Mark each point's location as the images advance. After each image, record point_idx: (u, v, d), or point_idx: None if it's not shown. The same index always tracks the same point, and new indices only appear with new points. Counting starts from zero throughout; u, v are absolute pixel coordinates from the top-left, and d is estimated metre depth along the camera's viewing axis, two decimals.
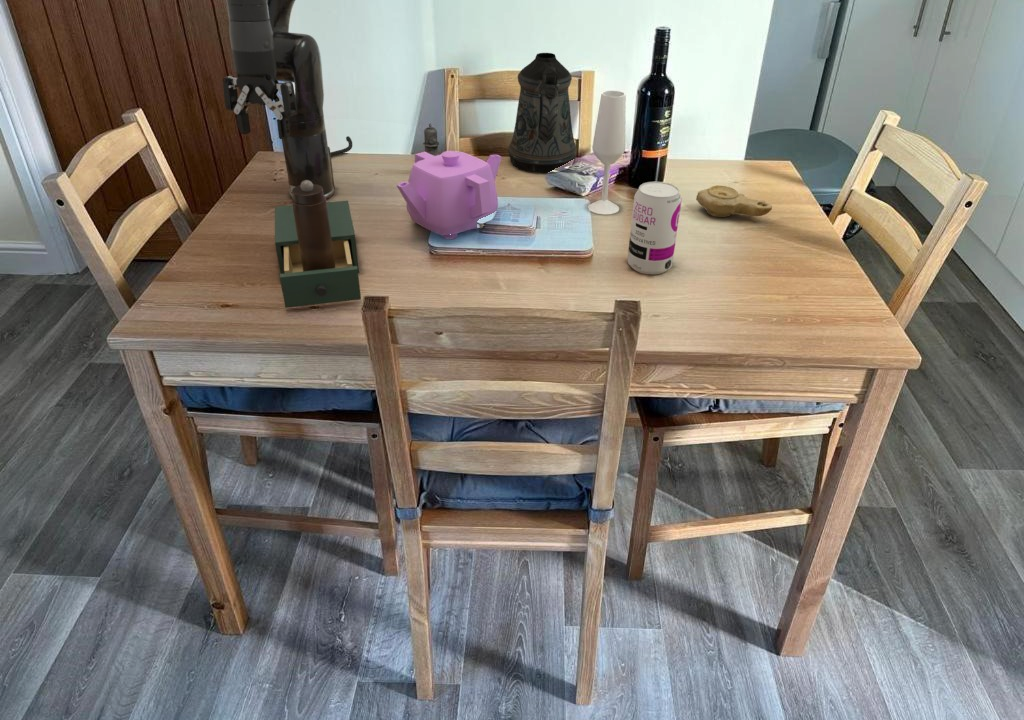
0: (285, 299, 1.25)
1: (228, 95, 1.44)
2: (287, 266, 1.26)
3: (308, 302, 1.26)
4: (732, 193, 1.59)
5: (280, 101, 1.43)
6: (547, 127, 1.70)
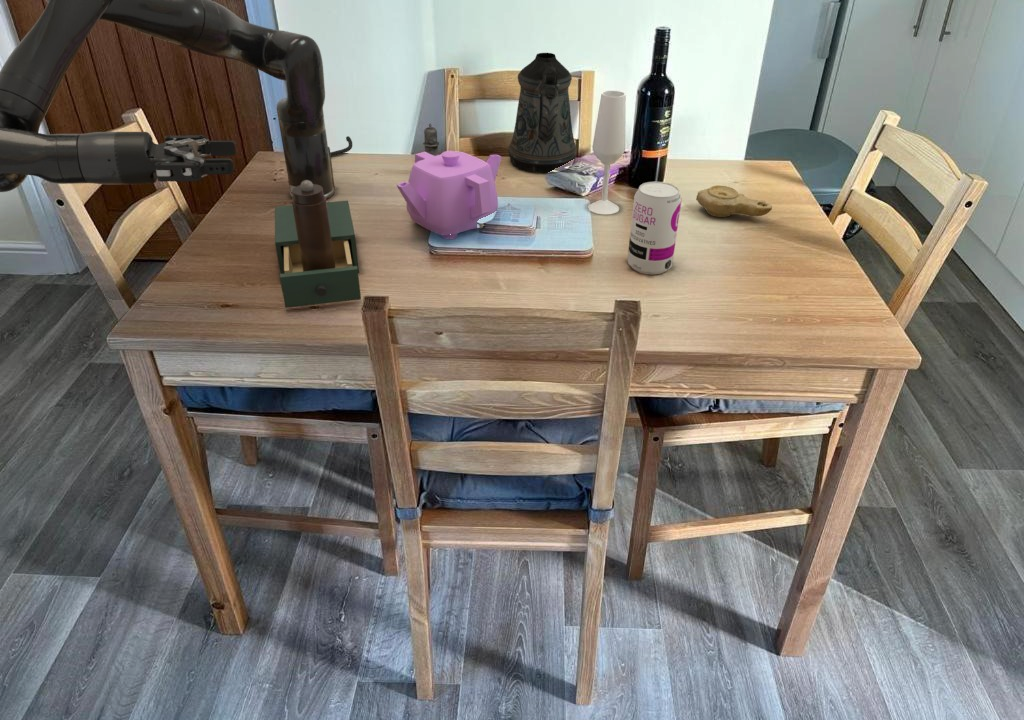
0: (285, 299, 1.25)
1: None
2: (287, 266, 1.26)
3: (308, 302, 1.26)
4: (732, 193, 1.59)
5: (184, 159, 1.11)
6: (547, 128, 1.70)
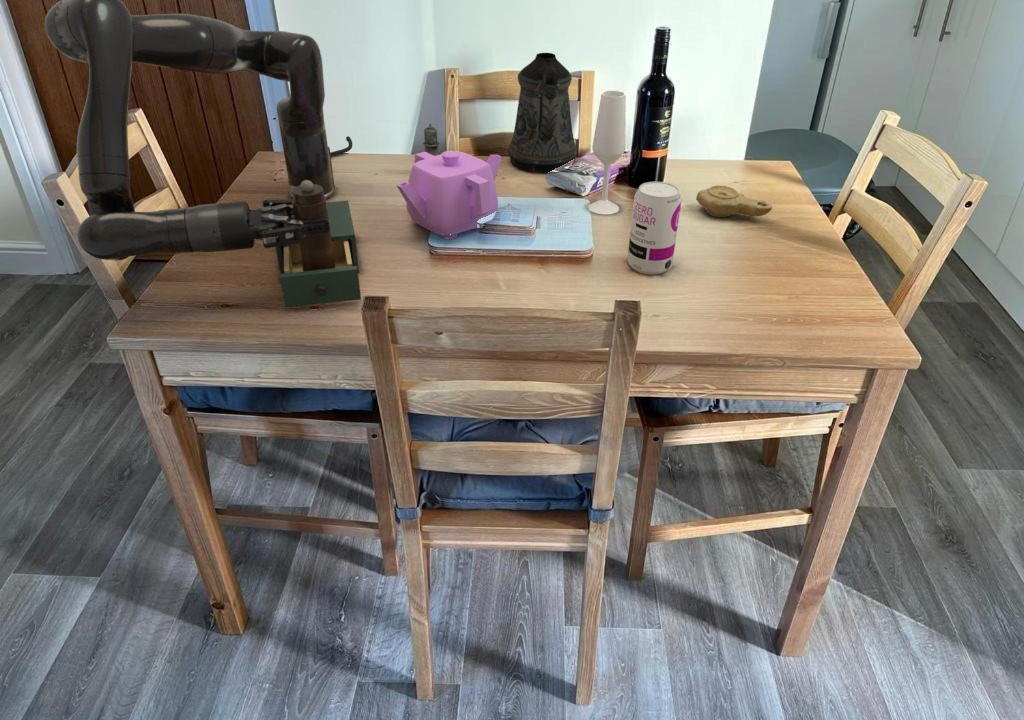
0: (285, 299, 1.25)
1: None
2: (287, 266, 1.26)
3: (308, 302, 1.26)
4: (732, 193, 1.59)
5: (284, 223, 1.21)
6: (547, 128, 1.70)
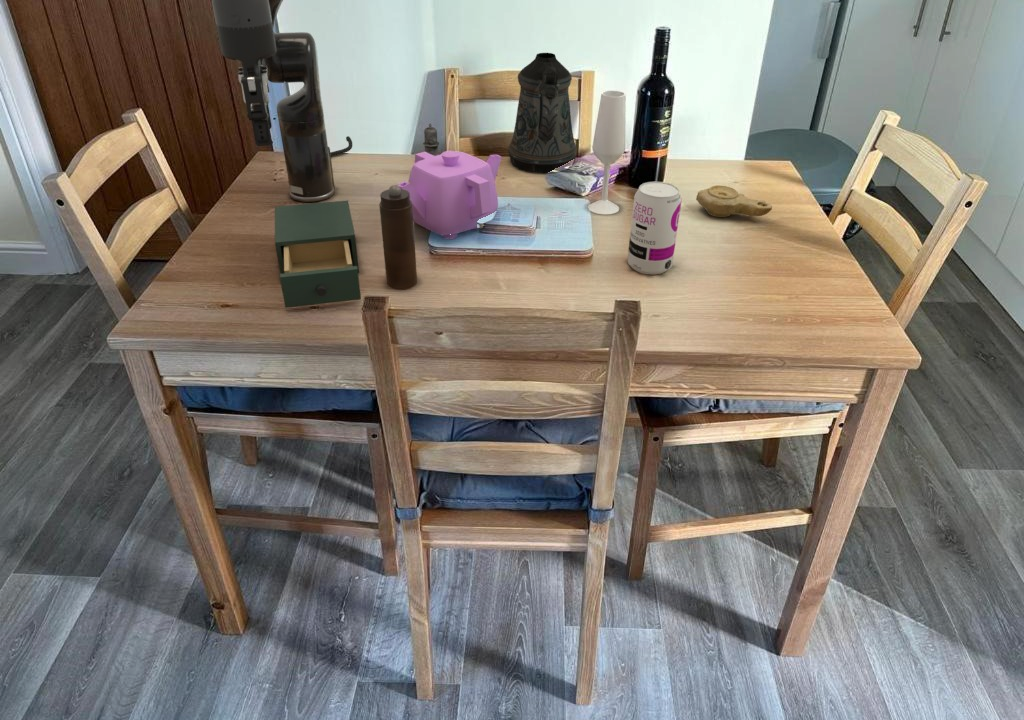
0: (285, 299, 1.25)
1: None
2: (287, 266, 1.26)
3: (308, 302, 1.26)
4: (732, 193, 1.59)
5: None
6: (547, 128, 1.70)
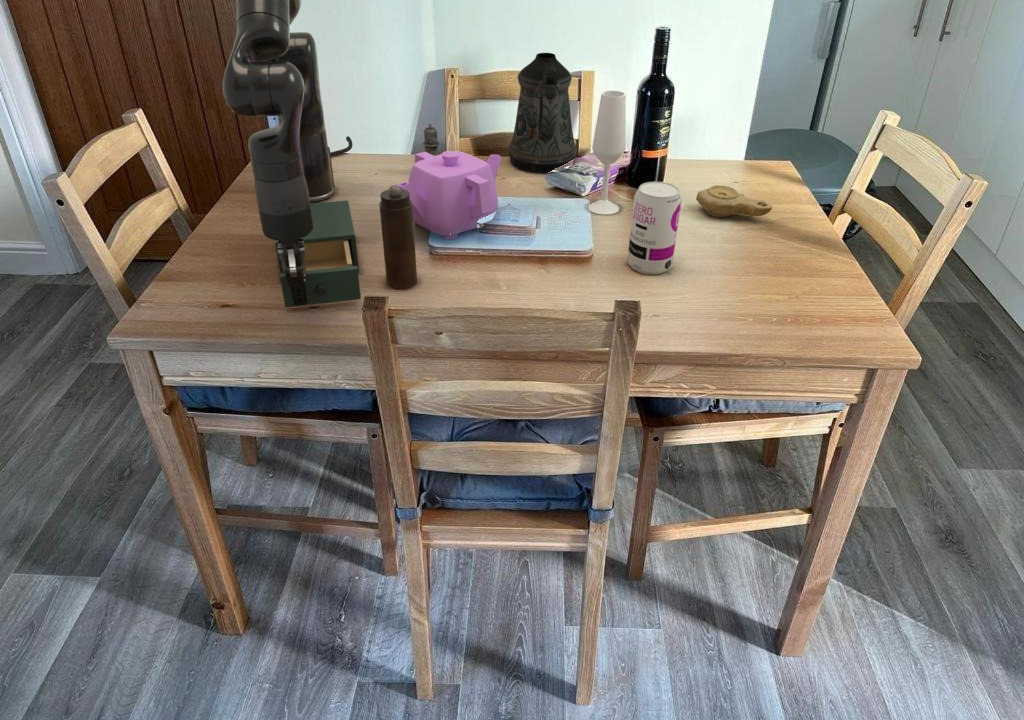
0: (285, 299, 1.25)
1: None
2: None
3: (308, 301, 1.26)
4: (732, 193, 1.59)
5: None
6: (547, 128, 1.70)
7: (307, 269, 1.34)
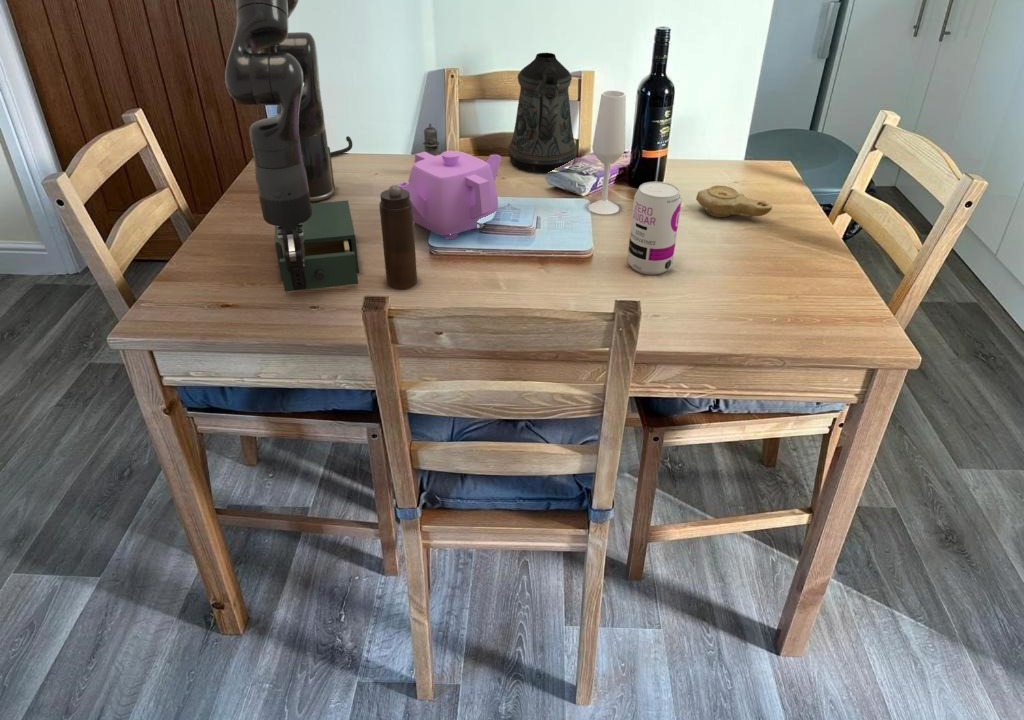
0: (285, 283, 1.29)
1: None
2: None
3: (307, 286, 1.30)
4: (732, 193, 1.59)
5: None
6: (547, 128, 1.70)
7: (306, 255, 1.39)
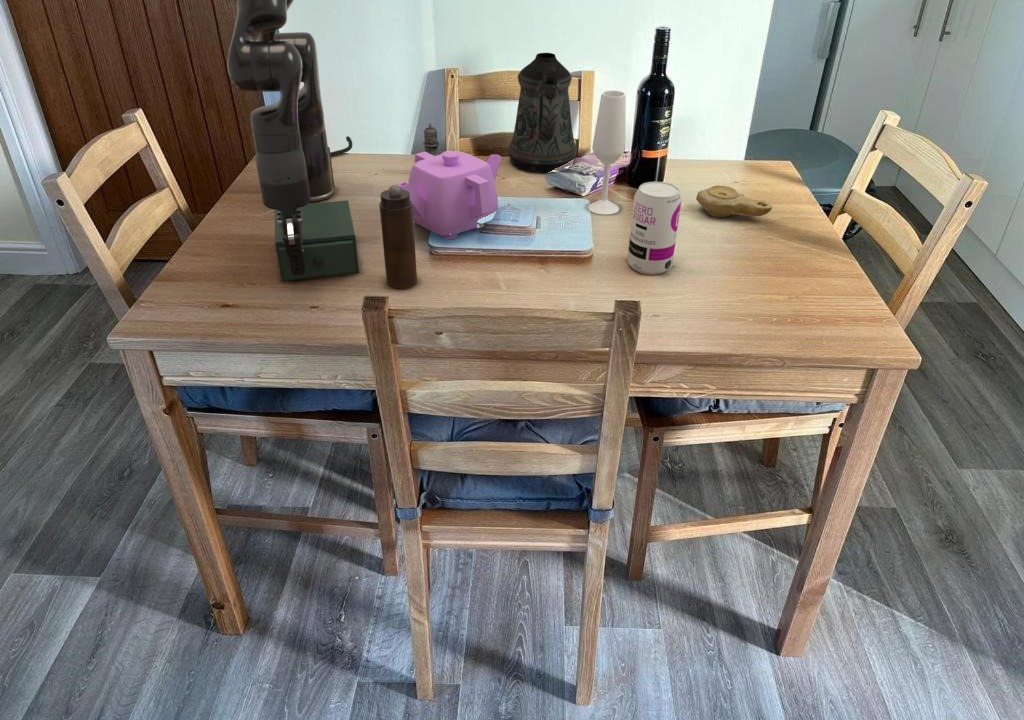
0: (284, 271, 1.33)
1: None
2: None
3: (306, 273, 1.34)
4: (732, 193, 1.59)
5: None
6: (547, 128, 1.70)
7: None
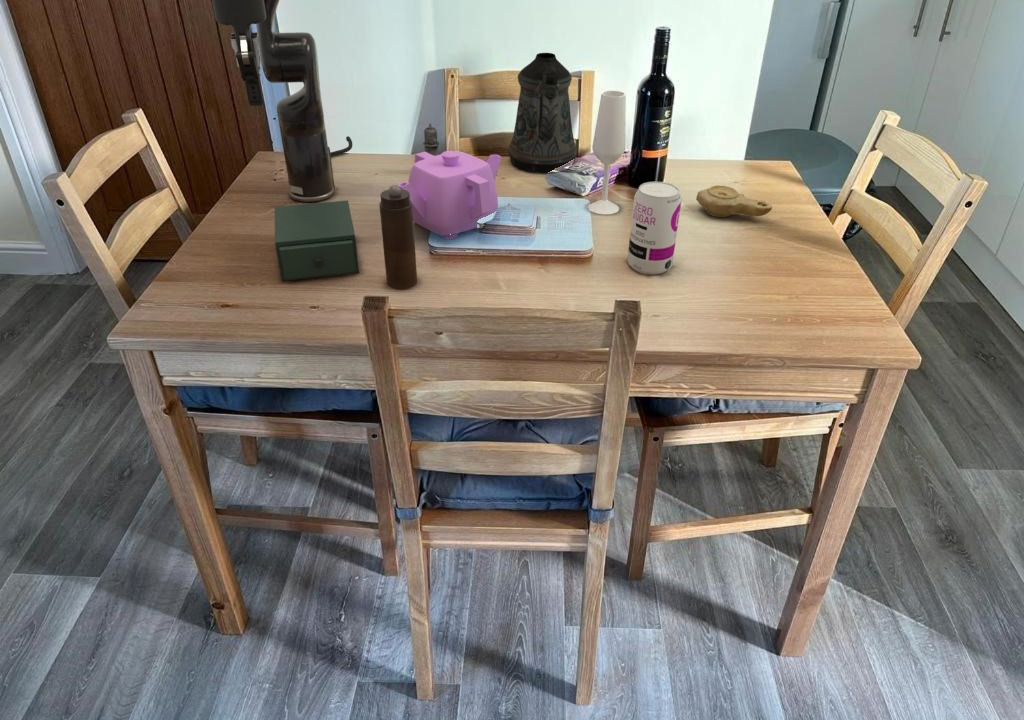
0: (284, 271, 1.33)
1: None
2: None
3: (306, 273, 1.34)
4: (732, 193, 1.59)
5: (255, 63, 1.19)
6: (547, 128, 1.70)
7: None
